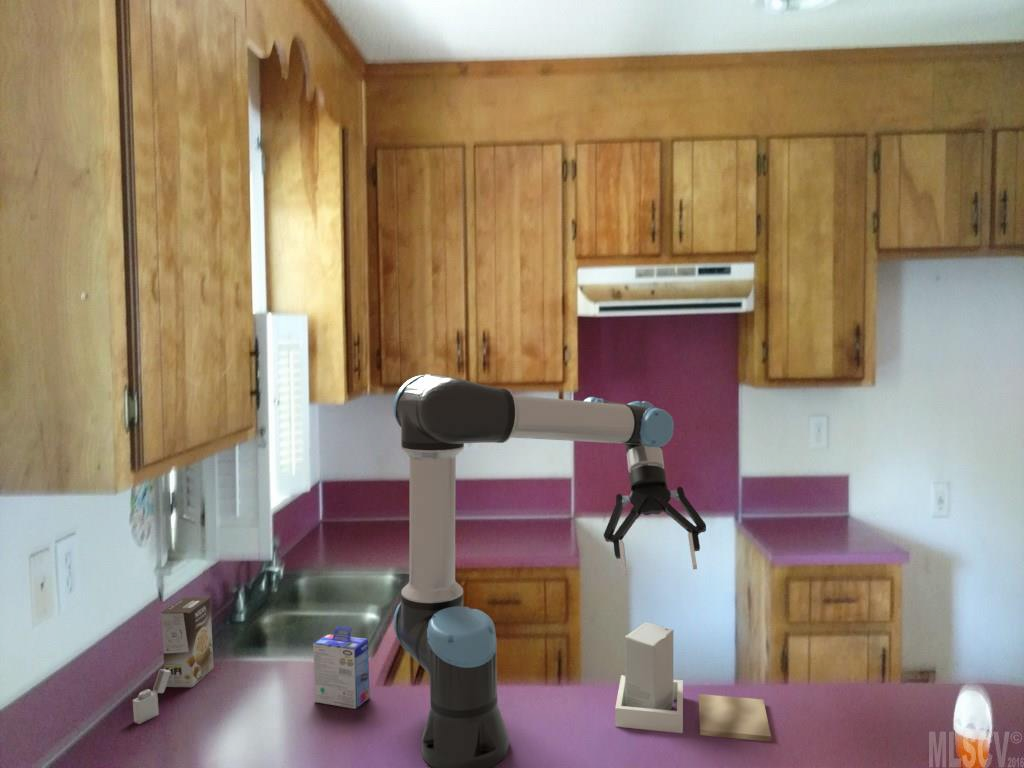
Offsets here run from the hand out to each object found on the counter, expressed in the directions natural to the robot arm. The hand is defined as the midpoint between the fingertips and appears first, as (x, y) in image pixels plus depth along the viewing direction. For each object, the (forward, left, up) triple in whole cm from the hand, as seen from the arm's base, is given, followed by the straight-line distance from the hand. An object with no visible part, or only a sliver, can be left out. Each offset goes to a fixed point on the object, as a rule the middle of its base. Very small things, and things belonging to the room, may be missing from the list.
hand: (659, 570), depth 145 cm
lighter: (-96, -25, -25) cm, 102 cm away
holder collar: (-2, -7, -25) cm, 26 cm away
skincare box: (-2, -7, -25) cm, 26 cm away
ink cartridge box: (-62, -13, -25) cm, 68 cm away
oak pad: (+13, -7, -25) cm, 29 cm away
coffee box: (-99, -10, -25) cm, 102 cm away
